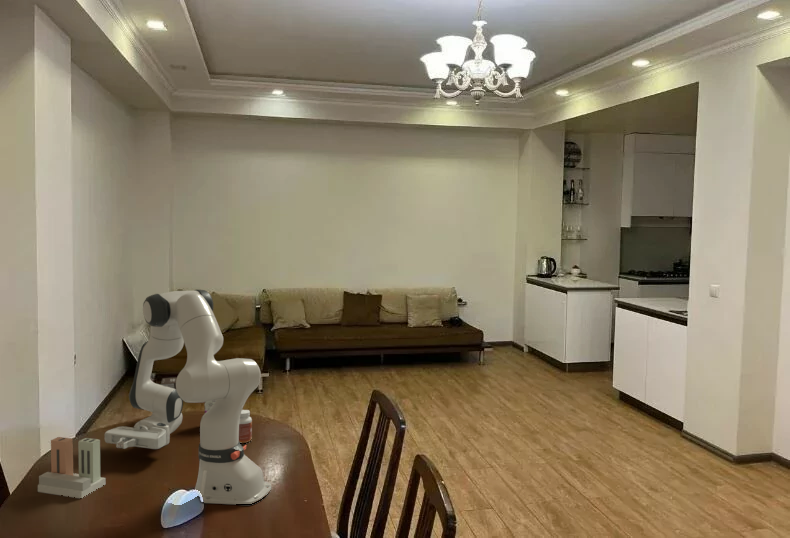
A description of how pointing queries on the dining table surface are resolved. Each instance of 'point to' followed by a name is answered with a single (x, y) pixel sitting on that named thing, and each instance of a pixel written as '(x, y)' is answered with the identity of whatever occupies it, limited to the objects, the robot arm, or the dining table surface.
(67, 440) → the orange-brown upright block
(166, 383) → the coffee box
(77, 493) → the tile board
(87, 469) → the pale green tall block
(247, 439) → the pill bottle
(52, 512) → the dining table surface
